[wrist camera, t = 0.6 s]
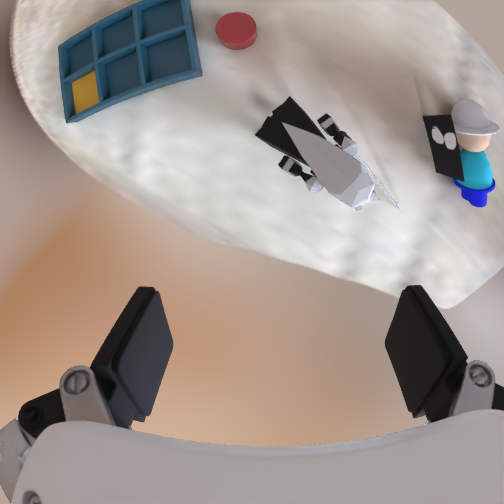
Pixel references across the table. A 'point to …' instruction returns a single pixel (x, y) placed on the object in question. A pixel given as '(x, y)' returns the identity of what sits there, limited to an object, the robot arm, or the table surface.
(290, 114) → the toy
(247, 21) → the cylinder
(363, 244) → the table surface
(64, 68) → the grid
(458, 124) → the toy
